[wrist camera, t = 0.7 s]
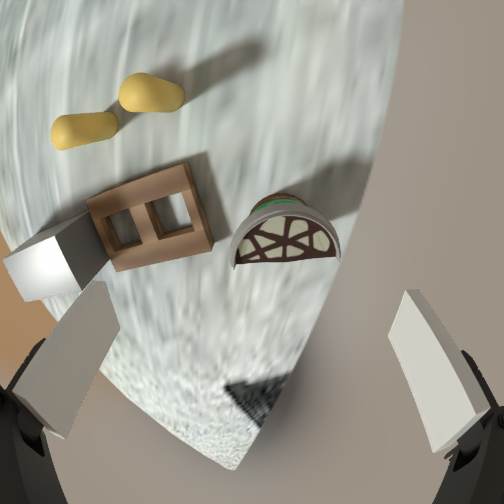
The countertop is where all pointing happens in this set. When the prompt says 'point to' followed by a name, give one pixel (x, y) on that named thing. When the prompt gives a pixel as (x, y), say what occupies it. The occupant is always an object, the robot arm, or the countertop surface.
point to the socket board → (151, 219)
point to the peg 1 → (83, 129)
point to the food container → (283, 233)
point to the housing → (58, 259)
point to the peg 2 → (150, 94)
